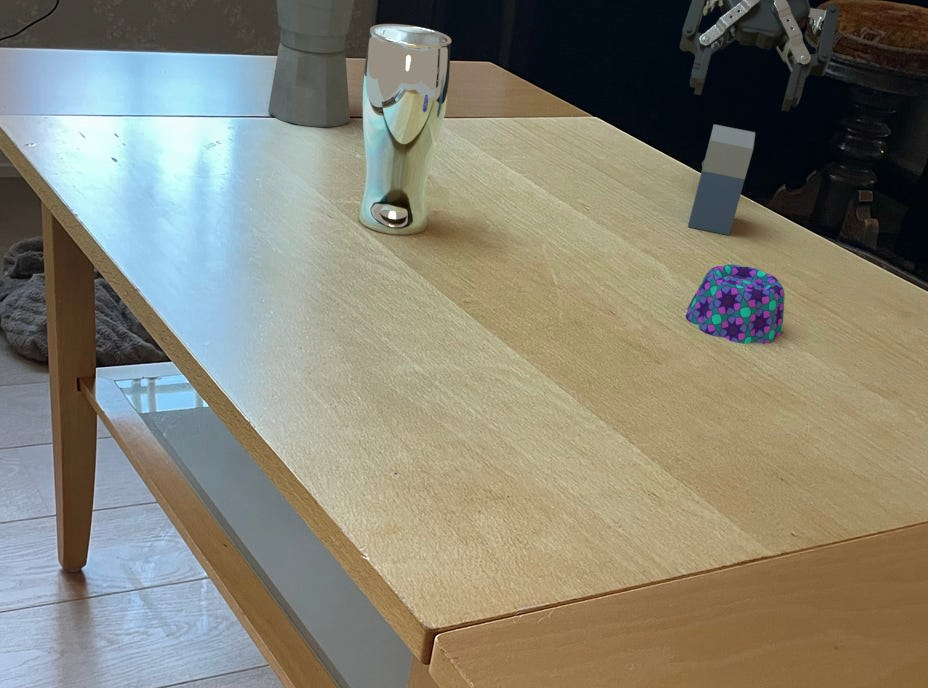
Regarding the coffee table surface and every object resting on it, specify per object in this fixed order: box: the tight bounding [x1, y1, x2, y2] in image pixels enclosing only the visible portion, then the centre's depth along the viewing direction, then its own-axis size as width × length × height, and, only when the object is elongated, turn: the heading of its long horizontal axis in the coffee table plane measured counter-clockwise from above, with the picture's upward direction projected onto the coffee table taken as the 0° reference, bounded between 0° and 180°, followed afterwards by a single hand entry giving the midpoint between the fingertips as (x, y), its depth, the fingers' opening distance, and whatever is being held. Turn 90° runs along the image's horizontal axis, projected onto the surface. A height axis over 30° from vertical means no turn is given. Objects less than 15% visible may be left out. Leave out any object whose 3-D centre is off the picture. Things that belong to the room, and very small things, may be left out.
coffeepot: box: [267, 0, 355, 128], centre depth 119 cm, size 15×9×18 cm, turn 27°
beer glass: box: [357, 23, 452, 236], centre depth 97 cm, size 7×7×15 cm
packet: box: [687, 124, 756, 236], centre depth 110 cm, size 4×6×8 cm, turn 166°
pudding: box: [685, 263, 786, 345], centre depth 88 cm, size 12×12×5 cm
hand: (742, 98), depth 111 cm, fingers open, 8 cm apart
